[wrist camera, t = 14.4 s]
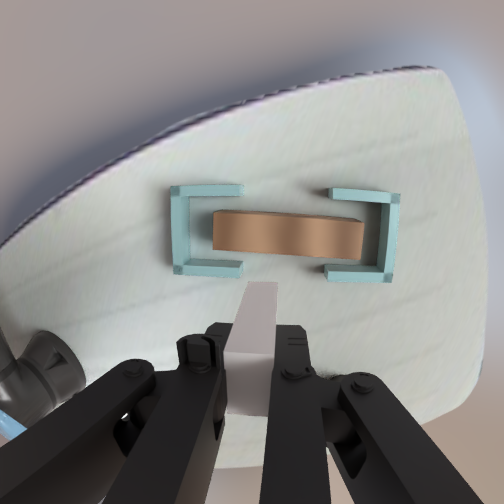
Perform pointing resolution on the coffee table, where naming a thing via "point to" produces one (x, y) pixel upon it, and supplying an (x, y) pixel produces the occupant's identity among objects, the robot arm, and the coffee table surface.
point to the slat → (287, 234)
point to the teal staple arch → (182, 236)
